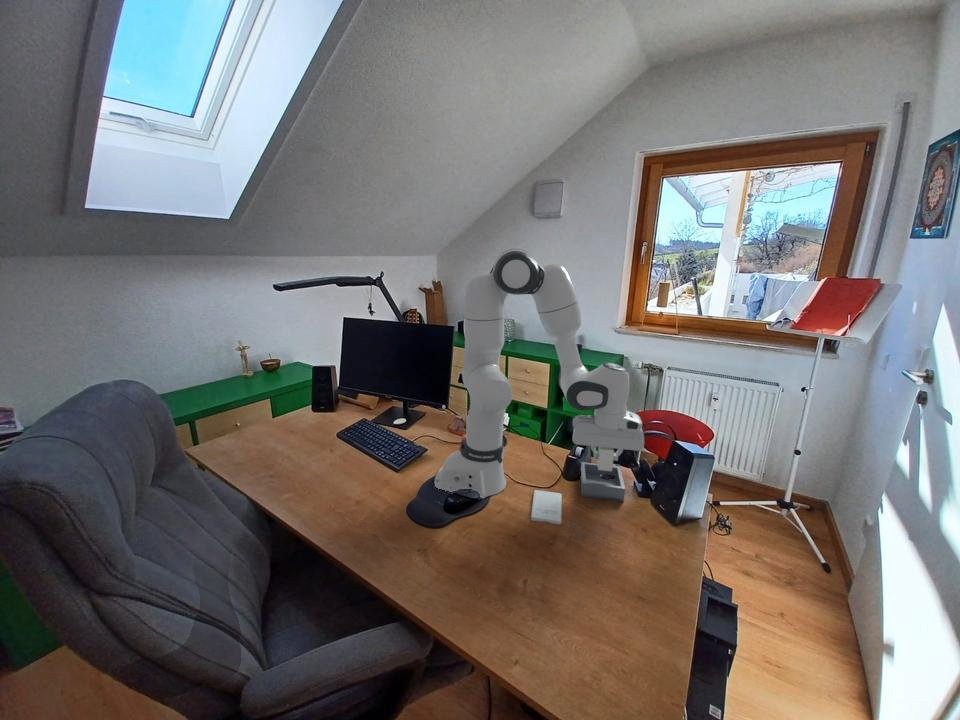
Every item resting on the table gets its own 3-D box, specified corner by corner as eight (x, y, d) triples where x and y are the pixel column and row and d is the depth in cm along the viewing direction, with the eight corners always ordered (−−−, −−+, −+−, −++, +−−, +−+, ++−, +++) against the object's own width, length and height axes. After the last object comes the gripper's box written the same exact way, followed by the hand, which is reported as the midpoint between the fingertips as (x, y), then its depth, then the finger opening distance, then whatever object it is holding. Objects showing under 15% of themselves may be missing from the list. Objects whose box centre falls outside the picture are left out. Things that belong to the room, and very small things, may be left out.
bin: (581, 496, 116) (582, 483, 114) (580, 473, 127) (581, 461, 125) (623, 502, 113) (625, 488, 112) (618, 478, 124) (620, 466, 123)
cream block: (598, 469, 117) (600, 449, 114) (597, 462, 120) (599, 442, 118) (611, 471, 116) (614, 450, 114) (610, 464, 119) (612, 444, 117)
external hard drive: (561, 498, 116) (560, 526, 104) (533, 494, 117) (530, 521, 106) (561, 493, 115) (561, 521, 103) (534, 489, 117) (530, 516, 105)
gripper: (573, 418, 112) (570, 460, 116) (648, 425, 108) (642, 468, 112) (573, 409, 118) (570, 449, 122) (644, 415, 114) (638, 457, 118)
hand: (605, 458), depth 117 cm, fingers closed on cream block, 4 cm apart
